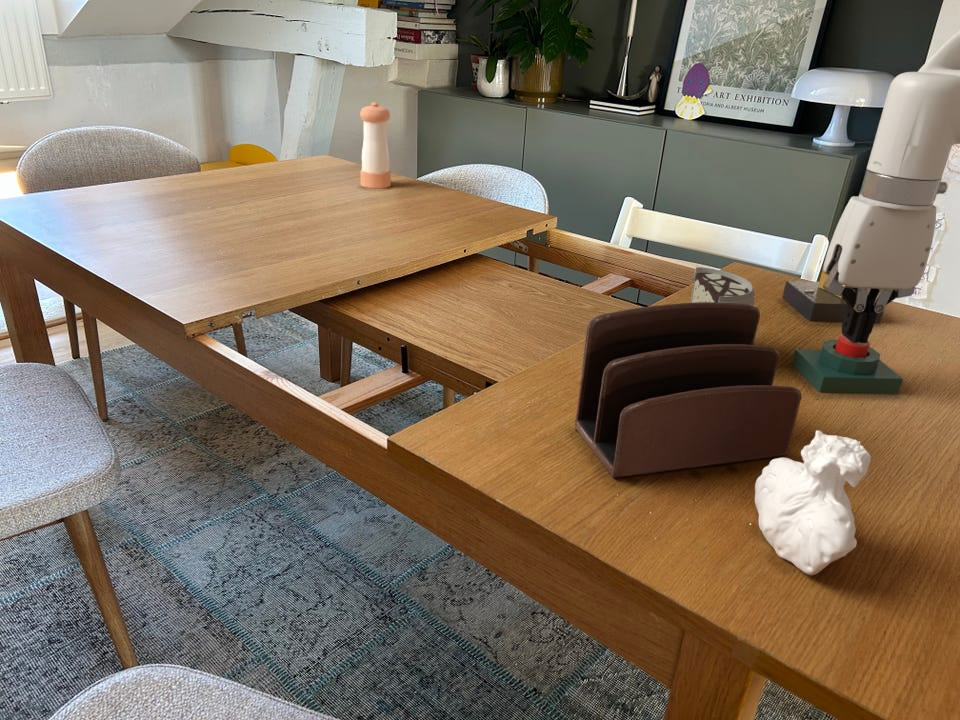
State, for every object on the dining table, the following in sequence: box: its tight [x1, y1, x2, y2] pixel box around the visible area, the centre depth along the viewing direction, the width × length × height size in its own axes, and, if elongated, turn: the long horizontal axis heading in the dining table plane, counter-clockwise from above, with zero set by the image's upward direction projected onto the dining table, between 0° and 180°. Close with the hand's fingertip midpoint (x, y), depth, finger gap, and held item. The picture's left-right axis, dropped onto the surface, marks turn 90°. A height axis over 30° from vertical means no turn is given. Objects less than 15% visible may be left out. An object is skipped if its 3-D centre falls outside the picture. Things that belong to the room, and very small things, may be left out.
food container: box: [690, 266, 755, 307], centre depth 96 cm, size 12×6×10 cm, turn 179°
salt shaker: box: [359, 101, 392, 189], centre depth 175 cm, size 7×7×19 cm
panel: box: [781, 280, 885, 324], centre depth 115 cm, size 11×10×3 cm
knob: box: [818, 265, 842, 298], centre depth 113 cm, size 5×2×4 cm, turn 17°
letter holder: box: [574, 302, 802, 479], centre depth 74 cm, size 10×20×14 cm, turn 106°
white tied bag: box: [754, 429, 872, 576], centre depth 61 cm, size 12×8×11 cm
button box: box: [791, 339, 904, 395], centre depth 92 cm, size 10×8×4 cm
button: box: [835, 334, 871, 358], centre depth 91 cm, size 4×4×2 cm
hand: (853, 338), depth 91 cm, fingers closed
